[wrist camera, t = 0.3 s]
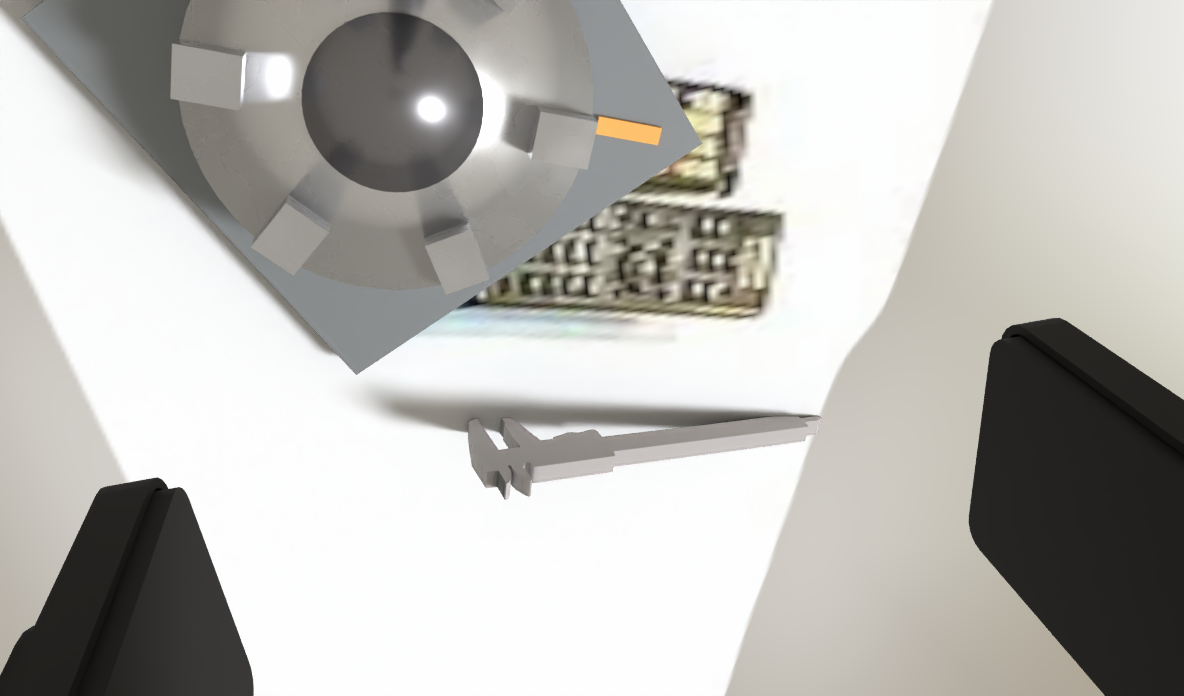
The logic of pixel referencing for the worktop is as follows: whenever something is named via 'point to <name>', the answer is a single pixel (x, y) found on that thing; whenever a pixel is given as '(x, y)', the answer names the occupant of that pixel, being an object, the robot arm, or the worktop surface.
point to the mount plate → (333, 309)
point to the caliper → (615, 448)
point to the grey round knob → (387, 129)
